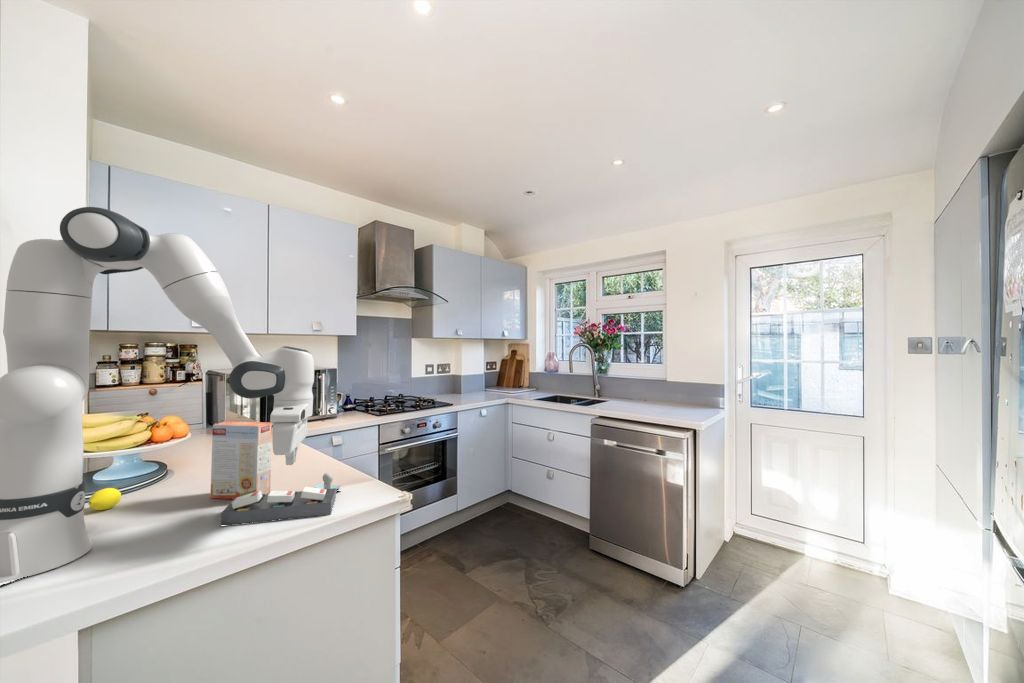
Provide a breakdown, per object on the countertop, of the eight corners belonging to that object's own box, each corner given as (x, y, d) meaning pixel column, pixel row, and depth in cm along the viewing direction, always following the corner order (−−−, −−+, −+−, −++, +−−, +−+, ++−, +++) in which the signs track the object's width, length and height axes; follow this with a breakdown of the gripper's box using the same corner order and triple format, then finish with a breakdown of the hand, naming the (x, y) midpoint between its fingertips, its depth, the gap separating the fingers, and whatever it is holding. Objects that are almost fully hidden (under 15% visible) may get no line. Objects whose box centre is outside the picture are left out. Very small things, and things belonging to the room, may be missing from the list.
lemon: (107, 505, 102) (111, 484, 103) (126, 506, 102) (130, 485, 103) (77, 513, 96) (81, 491, 96) (97, 514, 95) (101, 491, 96)
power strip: (220, 526, 91) (221, 510, 91) (236, 509, 101) (236, 494, 101) (330, 514, 99) (331, 499, 99) (335, 499, 108) (336, 486, 108)
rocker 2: (267, 502, 95) (268, 495, 95) (270, 497, 99) (271, 490, 99) (291, 502, 97) (292, 495, 97) (294, 496, 100) (295, 490, 100)
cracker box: (271, 493, 112) (273, 421, 112) (255, 501, 106) (257, 425, 106) (227, 490, 113) (229, 419, 114) (209, 498, 107) (211, 423, 108)
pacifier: (323, 488, 117) (311, 495, 111) (324, 467, 117) (312, 473, 111) (346, 490, 116) (335, 497, 110) (347, 469, 116) (336, 475, 110)
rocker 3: (300, 497, 98) (302, 490, 98) (303, 492, 101) (305, 485, 101) (323, 500, 99) (325, 493, 99) (325, 495, 103) (326, 488, 103)
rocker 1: (233, 509, 93) (231, 502, 93) (238, 503, 96) (236, 497, 96) (258, 501, 95) (256, 494, 95) (262, 496, 98) (260, 489, 98)
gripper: (289, 404, 108) (287, 453, 107) (268, 416, 88) (264, 476, 88) (314, 403, 110) (312, 452, 109) (298, 416, 90) (295, 475, 90)
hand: (290, 463), depth 98 cm, fingers closed
